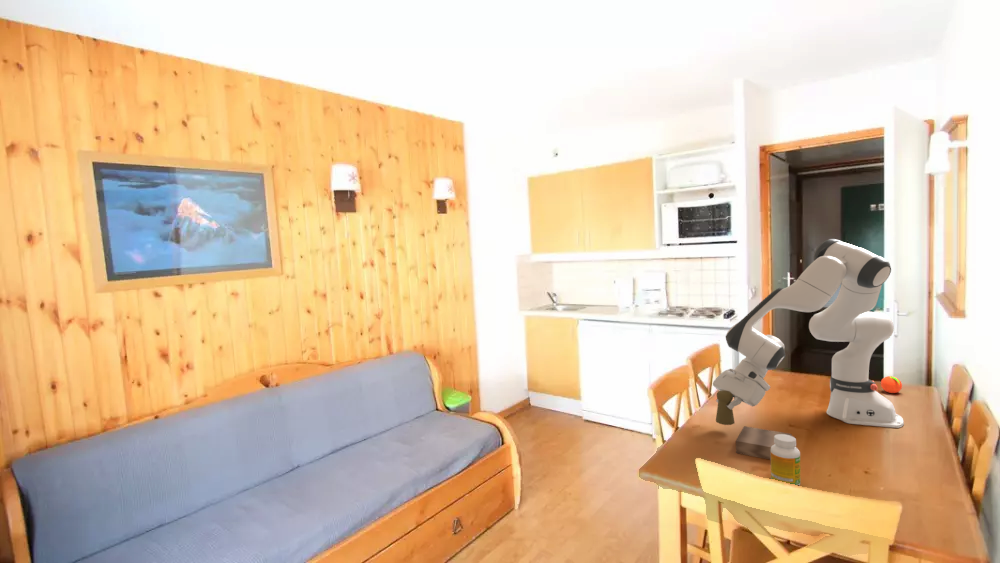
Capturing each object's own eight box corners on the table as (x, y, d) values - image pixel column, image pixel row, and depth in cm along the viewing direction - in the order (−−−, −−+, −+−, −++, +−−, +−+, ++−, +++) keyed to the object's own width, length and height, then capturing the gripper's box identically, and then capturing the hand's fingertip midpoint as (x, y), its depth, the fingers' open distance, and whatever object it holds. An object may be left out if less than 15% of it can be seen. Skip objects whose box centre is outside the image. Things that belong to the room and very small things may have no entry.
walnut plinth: (791, 445, 157) (791, 433, 157) (786, 462, 146) (786, 450, 146) (744, 437, 165) (744, 426, 165) (736, 452, 154) (735, 440, 154)
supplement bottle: (800, 490, 130) (800, 444, 129) (770, 485, 134) (769, 440, 133) (800, 479, 136) (800, 435, 135) (771, 474, 140) (771, 431, 139)
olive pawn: (736, 425, 167) (736, 394, 166) (717, 424, 168) (717, 394, 167) (732, 418, 173) (731, 388, 171) (713, 418, 174) (713, 388, 173)
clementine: (908, 395, 197) (908, 378, 196) (891, 396, 197) (891, 379, 196) (893, 389, 205) (893, 373, 204) (876, 390, 205) (876, 374, 204)
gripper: (723, 362, 180) (699, 391, 179) (762, 377, 160) (736, 409, 159) (733, 372, 181) (711, 401, 180) (774, 389, 161) (748, 421, 160)
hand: (723, 405), depth 170 cm, fingers closed on olive pawn, 4 cm apart
